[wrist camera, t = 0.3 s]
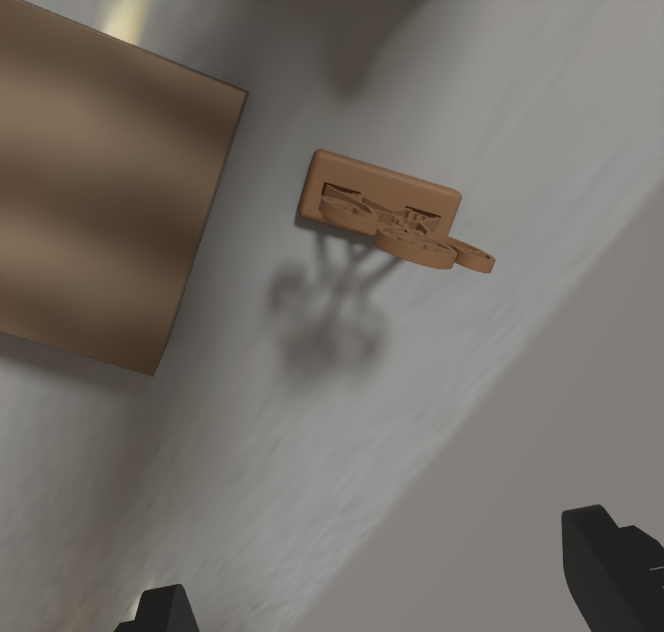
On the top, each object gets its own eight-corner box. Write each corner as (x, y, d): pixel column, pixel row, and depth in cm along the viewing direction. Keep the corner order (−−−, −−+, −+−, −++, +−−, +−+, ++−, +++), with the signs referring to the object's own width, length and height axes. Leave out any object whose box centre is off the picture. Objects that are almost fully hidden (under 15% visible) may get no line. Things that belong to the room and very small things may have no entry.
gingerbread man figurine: (297, 213, 36) (304, 274, 24) (315, 147, 34) (332, 179, 23) (437, 252, 37) (505, 327, 26) (460, 191, 36) (541, 241, 25)
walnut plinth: (-65, -36, 30) (-114, -52, 26) (248, 91, 33) (244, 93, 29) (-111, 262, 35) (-158, 283, 31) (165, 347, 38) (153, 376, 34)
